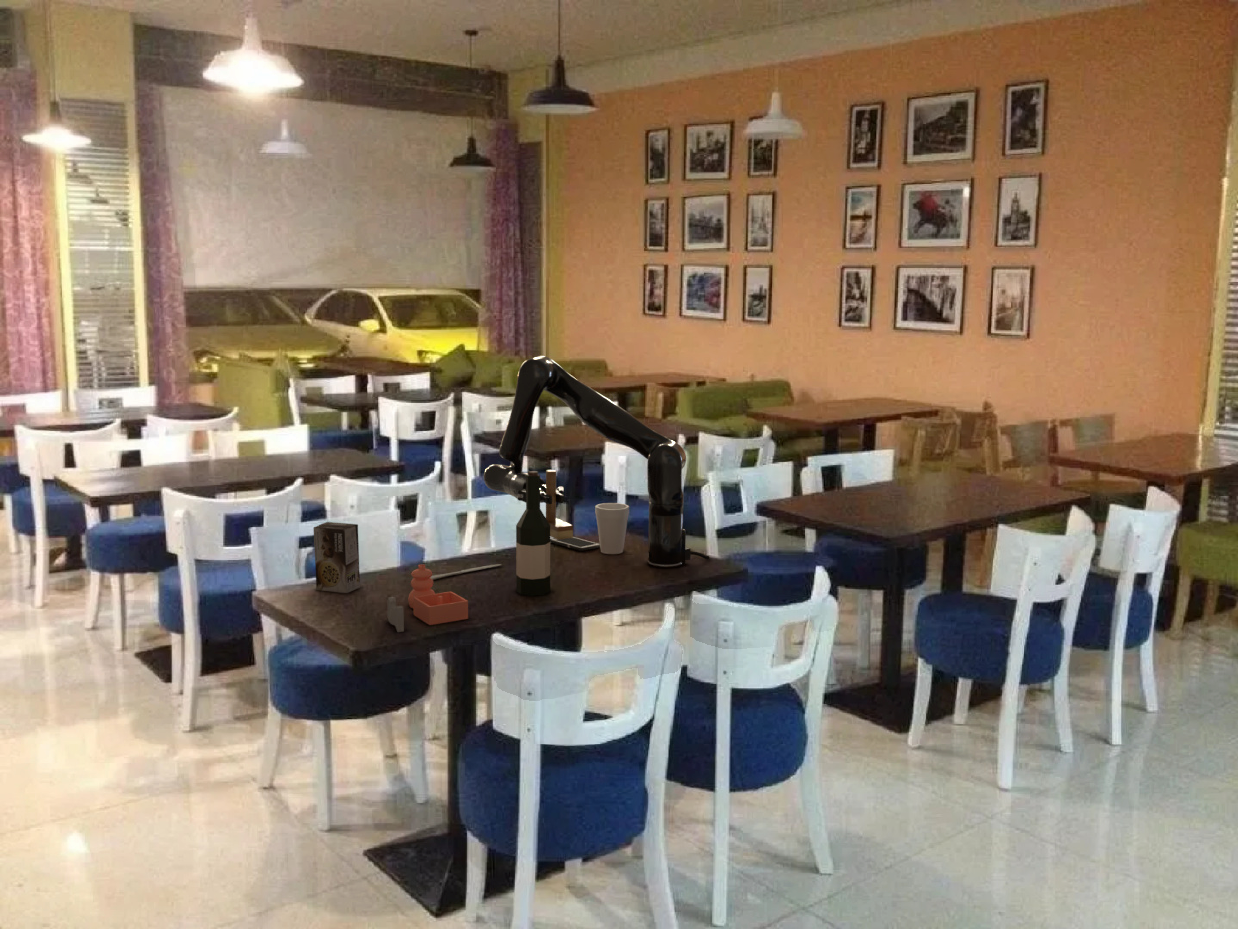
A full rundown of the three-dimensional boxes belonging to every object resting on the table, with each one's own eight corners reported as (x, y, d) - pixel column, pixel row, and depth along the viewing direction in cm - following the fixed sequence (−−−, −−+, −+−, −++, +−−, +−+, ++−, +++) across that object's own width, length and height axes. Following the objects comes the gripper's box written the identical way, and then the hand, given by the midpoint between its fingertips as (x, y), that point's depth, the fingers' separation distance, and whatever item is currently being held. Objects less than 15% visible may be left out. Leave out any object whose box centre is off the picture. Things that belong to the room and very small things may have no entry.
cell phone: (568, 538, 342) (568, 535, 342) (602, 547, 331) (602, 544, 331) (548, 542, 337) (548, 539, 337) (581, 551, 326) (581, 548, 326)
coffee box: (361, 587, 288) (359, 523, 286) (346, 594, 282) (345, 529, 280) (329, 583, 291) (327, 521, 289) (314, 590, 285) (312, 526, 283)
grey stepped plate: (397, 632, 253) (386, 619, 262) (404, 632, 254) (392, 618, 263) (397, 607, 252) (386, 595, 261) (403, 606, 253) (392, 594, 262)
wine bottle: (549, 596, 283) (549, 474, 277) (515, 596, 282) (514, 474, 277) (550, 586, 291) (550, 468, 286) (517, 586, 291) (516, 468, 285)
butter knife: (420, 577, 296) (426, 579, 294) (498, 562, 311) (504, 565, 309) (420, 578, 296) (426, 581, 294) (498, 564, 311) (504, 566, 309)
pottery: (468, 618, 264) (467, 576, 262) (429, 625, 259) (428, 582, 257) (435, 599, 279) (435, 559, 277) (398, 605, 274) (397, 564, 272)
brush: (539, 531, 299) (539, 470, 296) (554, 529, 301) (555, 468, 298) (557, 539, 290) (558, 477, 287) (573, 537, 292) (573, 475, 290)
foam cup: (594, 547, 332) (594, 503, 329) (626, 547, 333) (626, 502, 330) (597, 555, 322) (597, 510, 320) (630, 555, 323) (630, 509, 321)
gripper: (503, 476, 305) (531, 487, 290) (551, 472, 311) (581, 483, 296) (503, 504, 306) (531, 516, 291) (551, 499, 313) (580, 511, 298)
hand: (556, 499), depth 294 cm, fingers closed on brush, 2 cm apart
